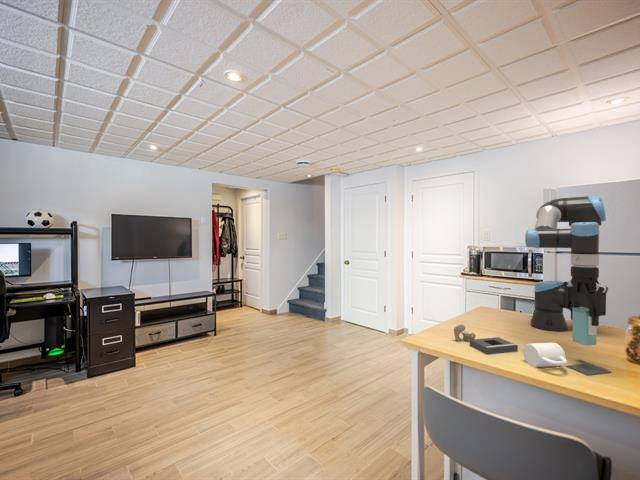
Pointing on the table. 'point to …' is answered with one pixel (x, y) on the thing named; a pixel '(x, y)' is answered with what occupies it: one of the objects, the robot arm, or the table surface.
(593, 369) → the mat
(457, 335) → the bone
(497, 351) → the grey socket block
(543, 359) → the mug
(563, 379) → the table surface
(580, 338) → the plug
